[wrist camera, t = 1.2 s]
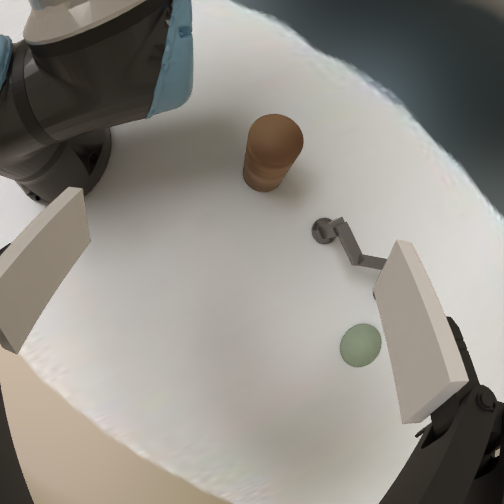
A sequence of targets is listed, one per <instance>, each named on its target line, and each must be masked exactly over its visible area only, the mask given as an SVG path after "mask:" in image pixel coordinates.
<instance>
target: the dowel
mask: <svg viewBox="0 0 504 504" xmlns="http://www.w3.org/2000/svg"><path fill="white" fill-rule="evenodd" d="M302 148H303V134H302V132H301V130H300V128H299V126H298V125H297V124H296V123H295V122H294V121H293V120H291V119H290V118H288V117H286V116H283V115H279V114H269V115H265V116H263V117H260V118H259V119H257V120H256V121H255V122H254V123H253V124H252V126H251V128H250V130H249V134H248V141H247V148H246V154H245V161H244V168H243V176H244V179H245V182H246V183H247V184H248V186H250V187H251V188H252V189H254V190H256V191H259V192H268V191H271V190H273V189H275V188H276V187H277V186H278V185H279V184H280V182H281V181H282V179H283V178H284V176H285V175H286V173H287V172H288V170H289V169H290V167H291V166H292V164H293V163H294V161H295V160H296V158H297V157H298V155H299V154H300V152H301V150H302Z"/></svg>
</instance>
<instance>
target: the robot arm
mask: <svg viewBox="0 0 504 504" xmlns="http://www.w3.org/2000/svg"><path fill="white" fill-rule="evenodd" d="M28 1H29V3H30V5H31V7H32V10H31V13H30V15H29V18H28V20H27V23H26V25H25V28H24V31H23V37H24V39H23V40H21V41H19V42H18V43H12V40H11V39H10V37H9V36H4V35H2V34H1V35H0V175H1V176H4V177H7V178H10V179H13V180H15V181H16V183H17V184H18V185H19V186H20V187H21V189H22V190H23V191H24V192H25V193H26V195H27V196H29V197H30V198H31V199H32V200H34V201H35V202H38V203H40V204H43V205H47V207H46V208H45V209H44V210H43V211H42V212H41V213H40V214H39V215H38V216H37V217H36V218H35V219H34V220H33V221H32V222H31V223H30V224H29V225H28V226H27V227H26V228H25V229H24V230H23V231H22V232H21V234H20V235H19V236H18V237H17V238H16V239H15V240H14V241H13V242H12V243H9V244H8V245H6V246H5V247H3V248H2V249H1V250H0V344H1V346H2V347H3V348H4V349H6V350H9V351H11V352H13V353H15V354H18V352H19V351H20V349H21V347H22V345H23V343H24V342H25V340H26V338H27V336H28V335H29V333H30V331H31V330H32V328H33V326H34V325H35V323H36V321H37V320H38V318H39V316H40V315H41V313H42V311H43V310H44V308H45V307H46V305H47V304H48V302H49V300H50V299H51V297H52V296H53V294H54V293H55V291H56V290H57V288H58V287H59V285H60V284H61V282H62V281H63V279H64V278H65V276H66V275H67V274H68V272H69V271H70V269H71V268H72V266H73V265H74V264H75V262H76V261H77V259H78V258H79V257H80V255H81V254H82V252H83V251H84V250H85V248H86V247H87V246H88V244H89V243H90V242H91V239H90V234H89V228H88V222H87V216H86V209H85V202H84V196H85V195H86V194H87V193H88V192H90V190H91V189H92V188H93V187H94V186H95V185H96V183H97V182H98V181H99V179H100V178H101V176H102V174H103V172H104V170H105V168H106V165H107V163H108V160H109V156H110V150H111V135H110V131H109V127H113V126H116V125H120V124H124V123H128V122H132V121H136V120H140V119H144V118H145V119H147V118H151V117H152V116H153V115H155V114H159V113H162V112H165V111H169V110H172V109H176V108H178V107H180V106H182V105H183V104H184V103H186V102H187V100H188V99H189V97H190V95H191V92H192V87H193V37H192V34H191V32H192V6H191V0H28ZM373 291H374V294H375V298H376V302H377V306H378V309H379V313H380V317H381V321H382V325H383V329H384V333H385V338H386V342H387V346H388V351H389V355H390V360H391V364H392V369H393V374H394V379H395V384H396V389H397V395H398V400H399V406H400V412H401V418H402V424H407V423H420V422H422V421H423V420H424V419H425V418H427V417H428V416H429V415H431V420H432V422H431V423H430V424H429V425H427V426H426V427H425V428H423V429H422V430H420V431H419V432H418V433H417V434H416V435H415V437H419V436H420V435H421V434H423V435H422V437H421V439H420V440H419V442H418V444H417V446H416V447H415V449H414V451H413V453H412V454H411V456H410V458H409V459H408V461H407V463H406V464H405V466H404V467H403V469H402V471H401V472H400V474H399V475H398V477H397V478H396V480H395V481H394V483H393V484H392V486H391V487H390V489H389V490H388V492H387V493H386V494H385V496H384V497H383V499H382V500H381V501H380V503H379V504H504V403H502V402H499V401H497V400H496V397H495V395H494V393H493V392H492V391H491V390H490V389H489V388H488V387H486V386H484V385H480V384H479V381H478V378H477V375H476V372H475V369H474V366H473V363H472V360H471V358H470V355H469V352H468V351H467V347H466V344H465V342H464V341H463V337H462V334H461V332H460V329H459V327H458V326H457V324H456V323H455V322H454V321H453V319H452V318H451V317H446V316H445V313H444V311H443V309H442V306H441V304H440V302H439V299H438V297H437V295H436V292H435V290H434V288H433V286H432V283H431V281H430V279H429V277H428V275H427V273H426V271H425V269H424V266H423V264H422V262H421V260H420V258H419V256H418V254H417V252H416V250H415V248H414V246H413V244H412V243H410V242H405V241H400V240H396V242H395V244H394V246H393V249H392V251H391V253H390V255H389V257H388V259H387V261H386V263H385V265H384V267H383V269H382V271H381V273H380V275H379V277H378V279H377V281H376V283H375V285H374V287H373ZM499 448H500V455H499V456H497V457H495V450H497V449H499ZM0 504H34V502H33V500H32V497H31V495H30V492H29V490H28V487H27V484H26V482H25V479H24V477H23V473H22V470H21V467H20V464H19V461H18V458H17V455H16V451H15V448H14V445H13V441H12V437H11V433H10V429H9V425H8V421H7V417H6V412H5V407H4V402H3V397H2V392H1V385H0Z"/></svg>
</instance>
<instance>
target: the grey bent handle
mask: <svg viewBox="0 0 504 504" xmlns="http://www.w3.org/2000/svg"><path fill="white" fill-rule="evenodd" d="M312 235H313V237H314V239H315V240H316V241H317V242H319V243H322V244H326V243H330V242H332V241H333V240H334V239H335V238H336V237H337V236H338V237H339V239H340V241H341V243H342V245H343V247H344V249H345V252H346V254H347V256H348V258H349V260H350V262H351V264H352V265H355V266H356V265H357V266H363V267H368V268H374V269H380V270H382V269H383V267H384V265H385V263H386V261H387V259H383V258H378V257H373V256H368V255H362V253H361V250H360V248H359V246H358V244H357V242H356V240H355V238H354V236H353V234H352V231H351V229H350V227H349V225H348V223H347V222H344V220H343V218H342V217H340V218H338V219H335V220H331V219H328V218H321V219H319V220H317V221H316V222H315V223H314V224H313V226H312ZM373 296H374V299H375V300H376V298H375V294H374V291H373Z"/></svg>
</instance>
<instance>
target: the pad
mask: <svg viewBox="0 0 504 504" xmlns="http://www.w3.org/2000/svg"><path fill="white" fill-rule="evenodd" d="M381 343H382V342H381V336H380V333H379V332H378V330H377V329H376V328H375V327H373V326H371V325H368V324H359V325H356V326H354V327H352V328H350V329H349V330H348V331H347V332H346V333H345V335H344V337H343V338H342V341H341V345H340V352H341V356H342V358H343V359H344V361H345V362H346V363H347V364H349V365H351V366H354V367H362V366H366V365H368V364H370V363H371V362H372V361H373V360H374V359H375V358H376V357H377V355H378V354H379V352H380V349H381Z"/></svg>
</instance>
